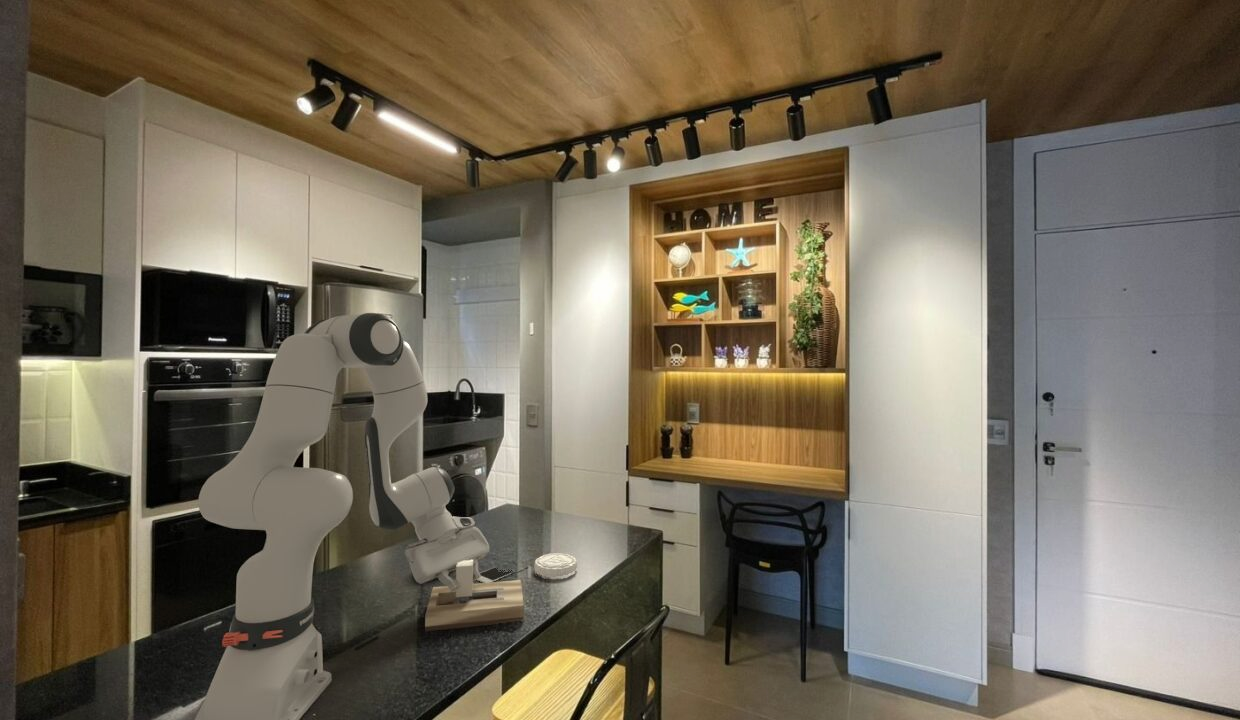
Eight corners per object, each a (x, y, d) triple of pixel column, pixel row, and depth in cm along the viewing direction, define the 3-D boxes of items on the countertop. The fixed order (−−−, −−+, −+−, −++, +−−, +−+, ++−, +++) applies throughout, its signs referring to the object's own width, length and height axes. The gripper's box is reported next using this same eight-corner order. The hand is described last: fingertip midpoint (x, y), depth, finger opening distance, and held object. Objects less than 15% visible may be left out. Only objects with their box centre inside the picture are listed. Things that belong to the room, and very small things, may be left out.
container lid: (558, 584, 135) (558, 570, 135) (525, 574, 141) (525, 561, 141) (585, 569, 145) (585, 557, 145) (553, 560, 151) (553, 548, 151)
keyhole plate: (523, 621, 114) (523, 605, 114) (424, 631, 109) (425, 614, 109) (520, 594, 128) (520, 579, 128) (432, 602, 123) (433, 587, 123)
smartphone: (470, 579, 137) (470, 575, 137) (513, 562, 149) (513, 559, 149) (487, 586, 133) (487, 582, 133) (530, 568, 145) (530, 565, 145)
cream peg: (474, 610, 116) (475, 566, 116) (452, 612, 115) (453, 567, 115) (475, 601, 121) (476, 558, 121) (454, 603, 120) (455, 560, 120)
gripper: (408, 538, 113) (436, 593, 108) (477, 516, 130) (504, 562, 125) (395, 554, 115) (422, 608, 110) (464, 530, 133) (491, 576, 127)
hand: (466, 583), depth 118 cm, fingers closed on cream peg, 5 cm apart
